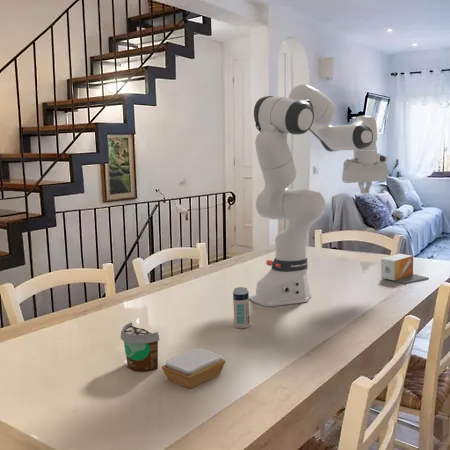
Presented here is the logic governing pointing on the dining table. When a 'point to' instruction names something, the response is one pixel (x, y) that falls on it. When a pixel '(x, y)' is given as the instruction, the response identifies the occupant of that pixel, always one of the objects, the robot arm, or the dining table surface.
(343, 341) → the dining table surface
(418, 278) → the mat
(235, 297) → the supplement bottle
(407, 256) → the small box
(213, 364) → the soap dish
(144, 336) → the food container
